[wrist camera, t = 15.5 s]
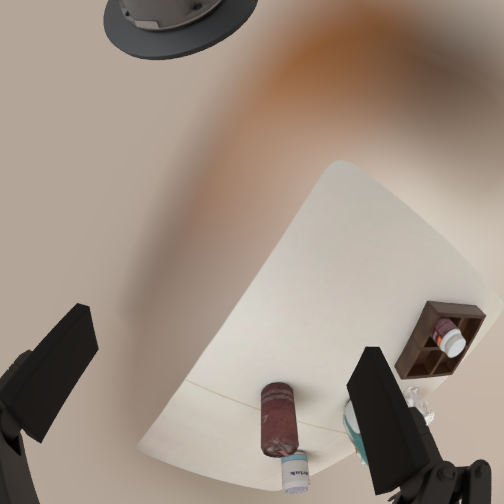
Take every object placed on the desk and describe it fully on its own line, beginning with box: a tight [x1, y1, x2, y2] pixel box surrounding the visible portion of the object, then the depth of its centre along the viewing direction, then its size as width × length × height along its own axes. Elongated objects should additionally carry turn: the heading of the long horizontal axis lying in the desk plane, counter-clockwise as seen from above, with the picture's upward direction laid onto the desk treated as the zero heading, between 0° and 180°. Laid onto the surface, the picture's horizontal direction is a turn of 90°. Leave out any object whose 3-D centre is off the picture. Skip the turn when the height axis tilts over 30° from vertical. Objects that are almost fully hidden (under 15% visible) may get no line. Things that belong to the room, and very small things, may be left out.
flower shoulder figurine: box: [404, 387, 435, 425], centre depth 43 cm, size 9×4×12 cm, turn 62°
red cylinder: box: [261, 383, 299, 458], centre depth 41 cm, size 6×6×14 cm
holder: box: [394, 301, 486, 380], centre depth 41 cm, size 15×15×4 cm
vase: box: [343, 400, 369, 466], centre depth 41 cm, size 12×12×18 cm
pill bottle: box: [430, 316, 466, 358], centre depth 37 cm, size 5×5×8 cm
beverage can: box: [281, 451, 310, 493], centre depth 52 cm, size 7×7×12 cm
